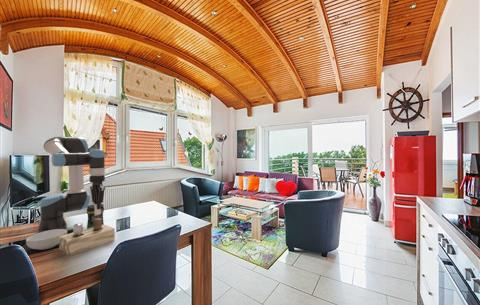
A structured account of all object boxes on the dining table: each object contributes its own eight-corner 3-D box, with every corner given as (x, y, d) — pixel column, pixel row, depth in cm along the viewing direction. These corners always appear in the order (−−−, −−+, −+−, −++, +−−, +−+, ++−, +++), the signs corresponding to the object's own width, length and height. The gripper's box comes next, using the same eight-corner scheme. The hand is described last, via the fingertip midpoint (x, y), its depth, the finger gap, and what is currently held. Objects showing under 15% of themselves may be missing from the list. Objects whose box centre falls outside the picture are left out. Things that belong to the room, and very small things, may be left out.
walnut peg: (92, 231, 123) (92, 219, 123) (99, 229, 126) (99, 217, 126) (95, 232, 121) (95, 220, 120) (103, 230, 124) (103, 218, 124)
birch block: (59, 249, 113) (59, 236, 113) (102, 235, 132) (102, 224, 132) (70, 255, 106) (70, 242, 106) (114, 239, 125) (114, 228, 125)
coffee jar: (86, 236, 130) (86, 207, 130) (86, 232, 137) (85, 204, 136) (105, 232, 137) (104, 204, 136) (103, 228, 143) (103, 202, 143)
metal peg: (72, 237, 114) (72, 225, 114) (80, 235, 117) (80, 222, 117) (75, 239, 112) (75, 226, 112) (83, 236, 115) (83, 224, 115)
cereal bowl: (63, 237, 128) (63, 226, 128) (70, 245, 118) (70, 233, 118) (24, 247, 115) (24, 235, 115) (27, 257, 105) (27, 243, 105)
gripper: (84, 175, 123) (85, 214, 123) (95, 176, 116) (96, 217, 117) (98, 174, 130) (99, 211, 130) (109, 175, 123) (110, 214, 123)
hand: (97, 214), depth 123 cm, fingers closed
